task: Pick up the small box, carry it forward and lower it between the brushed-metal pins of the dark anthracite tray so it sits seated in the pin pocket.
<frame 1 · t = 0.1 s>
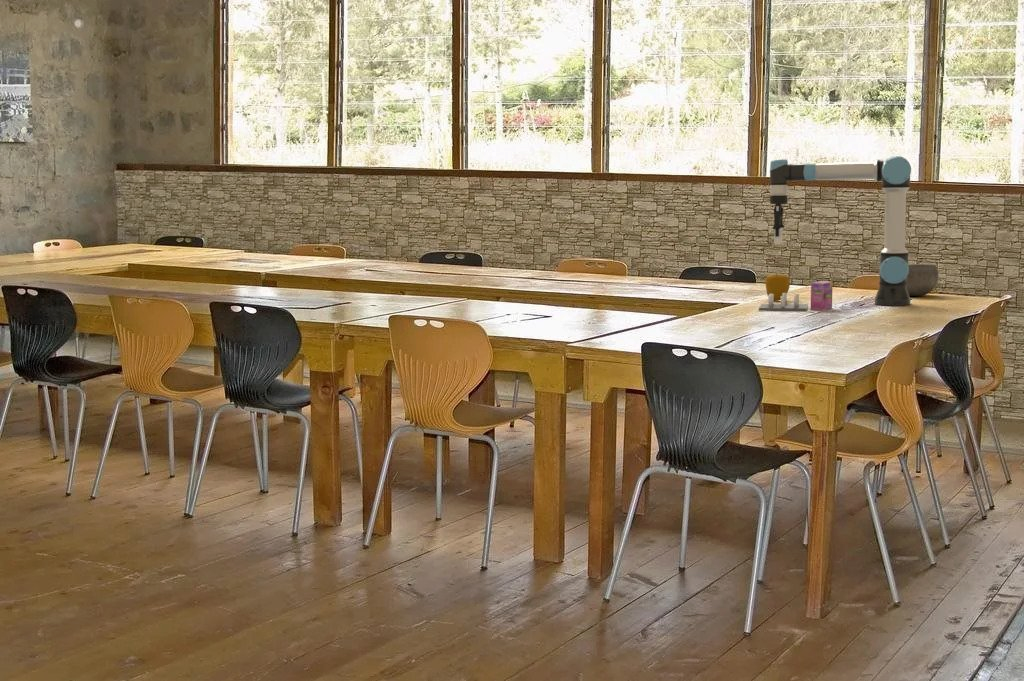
hand: (778, 243, 559), 28 cm above the table, fingers open, 13 cm apart
pin tray: (783, 308, 552), on the table
apple: (777, 300, 590), on the table
box: (821, 309, 548), on the table
bowl: (914, 296, 598), on the table
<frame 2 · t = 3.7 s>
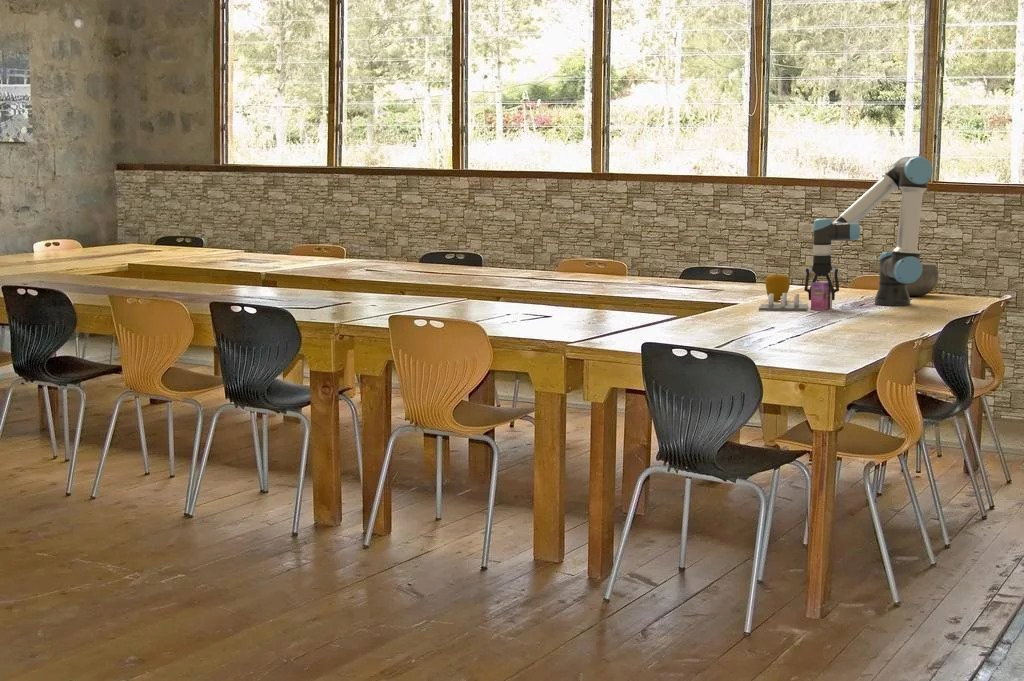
hand: (821, 307, 548), 1 cm above the table, fingers closed on box, 7 cm apart
box: (821, 309, 548), on the table, touching gripper
everything else where it was.
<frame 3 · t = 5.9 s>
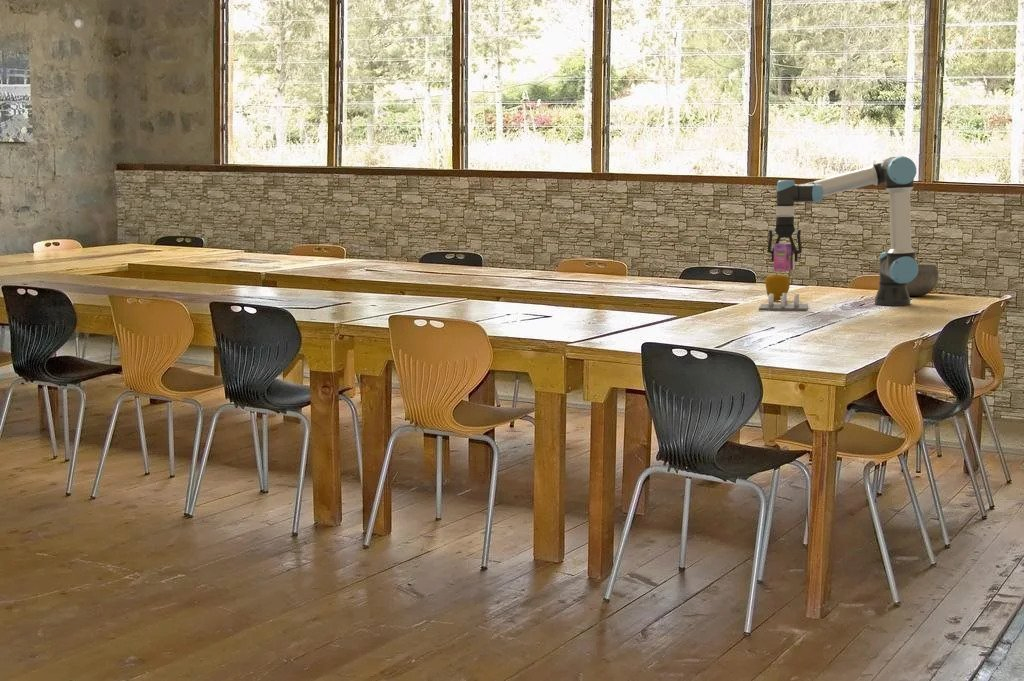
hand: (784, 269, 550), 17 cm above the table, fingers closed on box, 7 cm apart
box: (784, 271, 550), point 16 cm above the table, touching gripper
everything else where it was.
when the fingers open (4 cm above the table, at t = 8.2 s): box drops 2 cm, resting on pin tray.
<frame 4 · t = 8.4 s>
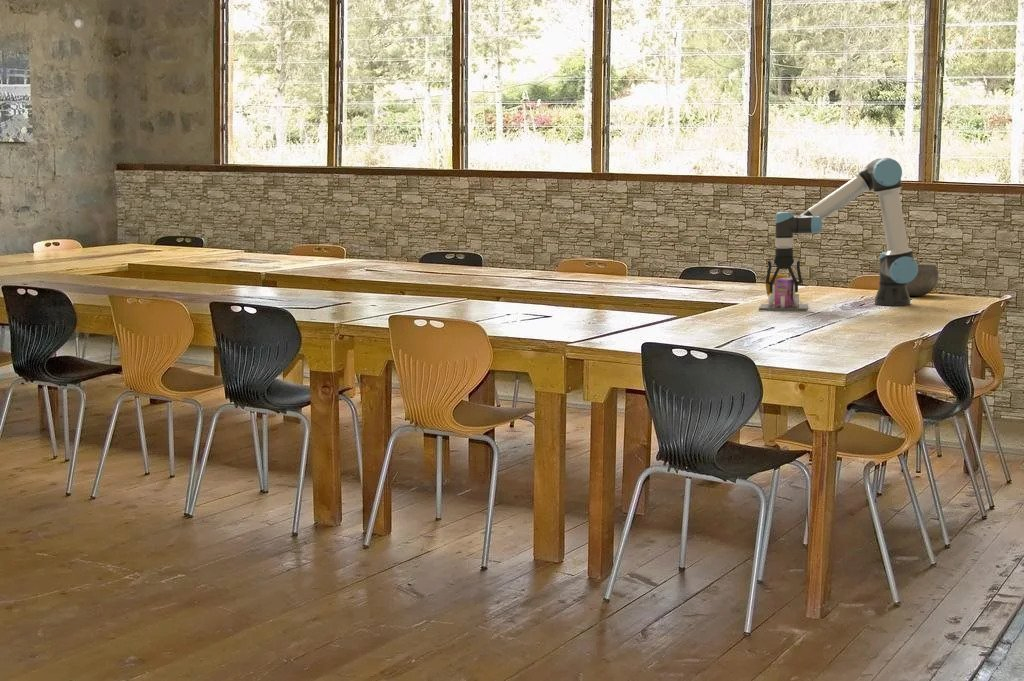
hand: (783, 299, 551), 4 cm above the table, fingers open, 8 cm apart
box: (784, 306, 552), point 1 cm above the table, touching gripper, pin tray
everything else where it was.
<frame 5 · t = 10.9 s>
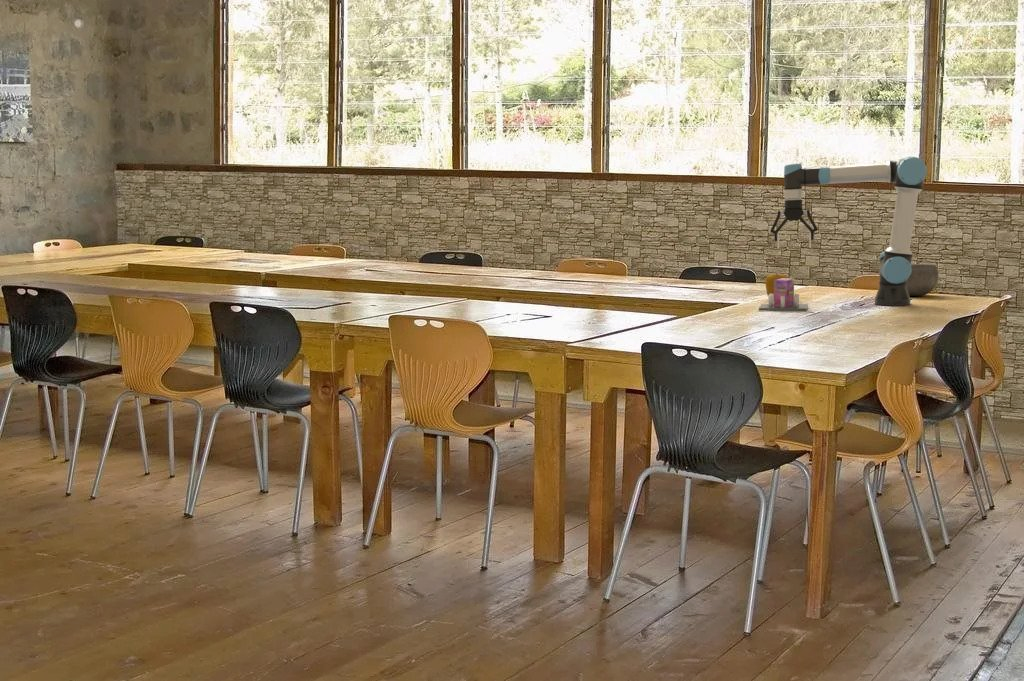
hand: (794, 248, 555), 26 cm above the table, fingers open, 13 cm apart
box: (784, 306, 552), point 1 cm above the table, touching pin tray
everything else where it was.
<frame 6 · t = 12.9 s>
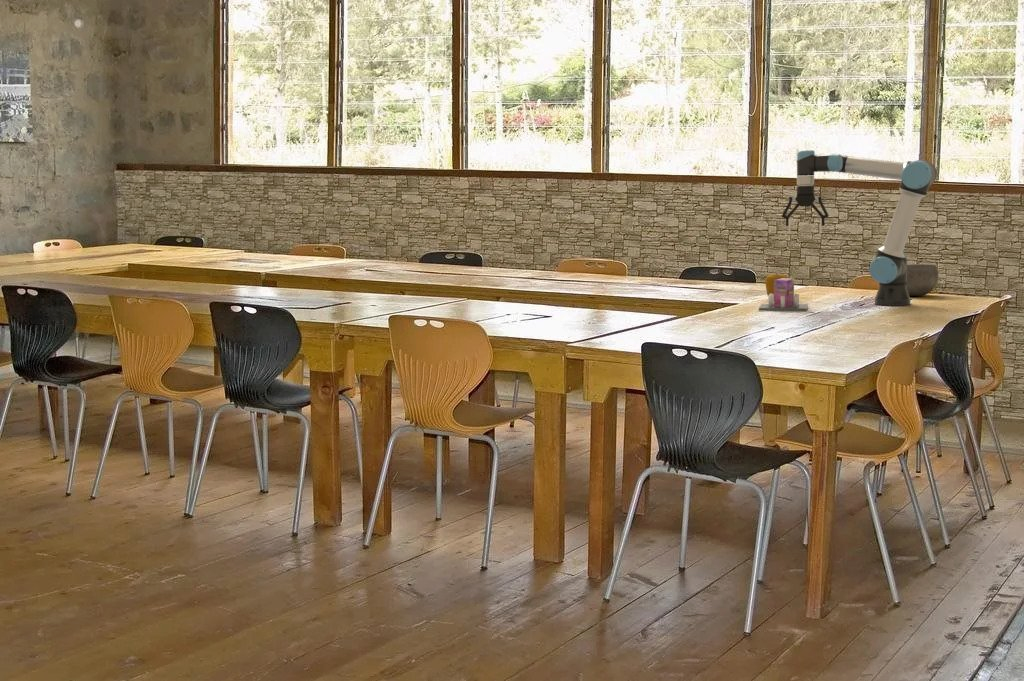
hand: (805, 233, 565), 32 cm above the table, fingers open, 13 cm apart
nothing on the table moved.
at the end: box 0.1 cm off-centre on the pin tray, point 1.0 cm above the pin tray's base; box tilted 0°; the gripper is holding nothing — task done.
